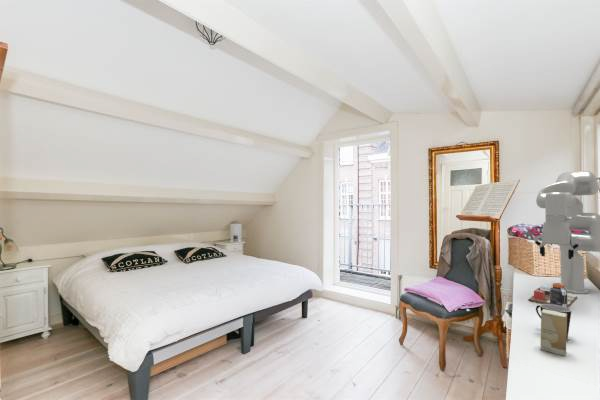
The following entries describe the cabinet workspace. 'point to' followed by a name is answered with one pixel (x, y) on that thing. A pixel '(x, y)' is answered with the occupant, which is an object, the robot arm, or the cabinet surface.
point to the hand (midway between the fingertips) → (556, 257)
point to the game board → (547, 298)
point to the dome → (545, 288)
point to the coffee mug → (557, 309)
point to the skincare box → (553, 331)
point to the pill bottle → (558, 295)
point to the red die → (539, 294)
